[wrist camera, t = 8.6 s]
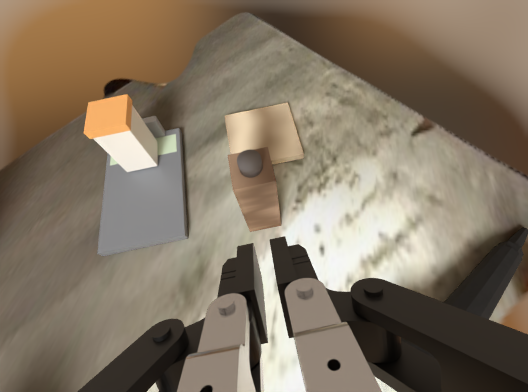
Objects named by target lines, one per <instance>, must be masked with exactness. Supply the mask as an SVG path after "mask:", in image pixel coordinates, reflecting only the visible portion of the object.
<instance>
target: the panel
mask: <svg viewBox="0 0 528 392" xmlns="http://www.w3.org/2000/svg"><path fill="white" fill-rule="evenodd" d="M142 120H143V121H144V123H145V124H146V126H147V127H148V129H149V130H150V132H151V133H152V134H153V136H154V137H155V139H156V140H157V143H158V166H154V167H150V168H145V169H140V170H135V171H131V172H126V171H125V170H124V169H123V168H122V167H121V166H120V165H119V164H118V163H117V162H116V161H115V160H114V159H113V158H112V157H111V156H110V155H109V154H108V155H107V165H106V175H105V185H104V194H103V204H102V214H101V224H100V234H99V243H98V253H97V254H99V255H102V256H106V255H110V254H115V253H120V252H125V251H129V250H134V249H139V248H144V247H148V246H153V245H158V244H163V243H167V242H172V241H177V240H182V239H186V238H188V232H187V214H186V197H185V180H184V162H183V145H182V132H181V130H180V128H177V129H172V130H167V131H165V130H164V128H163V127H162V125H161V123H160V122H159V120H158V119H157V117H156V116H151V117H146V118H142Z"/></svg>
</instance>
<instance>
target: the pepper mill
mask: <svg viewBox="0 0 528 392" xmlns="http://www.w3.org/2000/svg"><path fill="white" fill-rule="evenodd" d="M228 160H229V167H230V173H231V180H232V186H233V191H234V194H235V196H236V198H237V201H238V203H239V206H240V208H241V211H242V213H243V215H244V218H245V220H246V223H247V225H248V228H249V230H250V232H252V231H257V230H261V229H266V228H271V227H276V226H280V225H281V220H280V211H279V202H278V194H277V185H276V179H275V175H274V171H273V166H272V162H271V158H270V154H269V150H268V147H264V148H259V149H254V150H251V149H249V150H245V151H243V152H240V153H235V154H230V155H228Z"/></svg>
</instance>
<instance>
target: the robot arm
mask: <svg viewBox="0 0 528 392" xmlns="http://www.w3.org/2000/svg"><path fill="white" fill-rule="evenodd" d="M270 245H271V251H272V257H273V263H274V269H275V275H276V281H277V286H278V291H279V295H280V300H281V304H282V309H283V313H284V318H285V322H286V327H287V331H288V336H289V338H293V337H294V340H295V344H296V349H297V354H298V358H299V363H300V367H301V372H302V376H303V380H304V385H305V389H306V392H382V391H381V389H380V387H379V385H378V383H377V381H376V379H375V377H377V378H378V379H380V380H381V381H383V382H384V383H385V384H387V385H388V386H390V387H391V388H393V389H394V390H396V391H397V392H528V334H525V333H522V332H520V331H517V330H515V329H512V328H509V327H507V326H504V325H501V324H499V323H496V322H494V321H491V320H488V319H486V318H483V317H480V316H478V315H475V314H472V313H470V312H467V311H465V310H462V309H459V308H457V307H454V306H451V305H449V304H446V303H443V302H441V301H438V300H435V299H433V298H430V297H428V296H425V295H422V294H420V293H417V292H414V291H412V290H409V289H406V288H404V287H401V286H399V285H396V284H393V283H391V282H388V281H385V280H382V279H378V278H366V279H362V280H359V281H357V282H356V283H354V284H353V285H352V287H351V292H337V291H332V290H329V289H327V288H325V286H324V284H323V283H322V282H320V281H319V280H318V278H317V276H316V273H315V271H314V268H313V266H312V264H311V262H310V259H309V257H308V254H307V252H306V249H305V248H303V247H302V246H300V245H299V244H298V245H293V246H288V245H287V242H286V239H285V236H284V237H279V238H275V239H270ZM401 338H403V339H405V340H407V341H409V342H411V343H412V344H414V345H416V346H418V347H420V348H422V349H424V350H426V351H427V352H429V353H430V354H431V355H433V356H434V357H435V358H433V357H431V356H429V355H427V354H425V353H424V352H422V351H420V350H418V349H416V348H414V347H412V346H410V345H409V344H407V343H405V342H403V341H401ZM264 343H268V338H267V327H266V315H265V303H264V292H263V283H262V277H261V272H260V268H259V264H258V260H257V255H256V251H255V247H254V244H253V243H251V244H246V245H242V246H238V247H237V257H236V258H231V259H228V260H227V261H226V263H225V264H224V265H223V267H222V275H221V281H220V285H219V291H218V297H217V299H215V300H214V301H213V302H212V303H211V304H210V305H209V307H208V309H207V312H206V317H205V318H204V319H202V320H200V321H198V322H196V323H194V324H192V325H189V326H187V327H184V324H183V322H182V321H181V320H179V319H168V320H164V321H161V322H159V323H157V324H155V325H154V326H152V327H151V328H150V329H149V330H148V331H146V332H145V333H144V334H143V335H142V336H141V337H139V338H138V339H137V340H136V341H135V342H134V343H133V344H131V345H130V346H129V347H128V348H127V349H126V350H125V351H123V352H122V353H121V354H120V355H119V356H118V357H117V358H115V359H114V360H113V361H112V362H111V363H110V364H109V365H107V366H106V367H105V368H104V369H103V370H102V371H101V372H99V373H98V374H97V375H96V376H95V377H94V378H93V379H91V380H90V381H89V382H88V383H87V384H86V385H85V386H83V387H82V388H81V389H80V390H79V391H78V392H147V391H148V389H149V388H150V387H151V386H152V385H153V384H154V383H155V382H156V385H157V387H158V389H159V392H264V384H263V363H262V358H261V344H264ZM374 376H375V377H374Z"/></svg>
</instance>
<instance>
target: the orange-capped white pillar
mask: <svg viewBox="0 0 528 392" xmlns="http://www.w3.org/2000/svg"><path fill="white" fill-rule="evenodd" d="M84 134H85V135H86V136H87V137H88V138H90V139H92V138H93V139H94V140H95V141H96V142H97V143H98V144H99V145H100V146H101V147H102V148H103V149H104V150H105V151H106V152H107V153H108V154H109V155H110V156H111V157H112V158H113V159H114V160H115V161H116V162H117V163H118V164H119V165H120V166H121V167H122V168H123V169H124V170H125V171H126V172H131V171H135V170H140V169H145V168H150V167H154V166H158V143H157V140H156V139H155V137H154V136H153V134H152V133H151V132H150V130H149V129H148V127H147V126H146V124H145V123H144V121H143V120H142V119H141V117H140V116H139V114H138V113H137V111H136V110H135V108H134V107H133V106H132V100H131V98H130V97H129V95H128V94H126V95H121V96H116V97H112V98H107V99H102V100H98V101H93V102H89V103H88V109H87V115H86V121H85V127H84Z"/></svg>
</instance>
